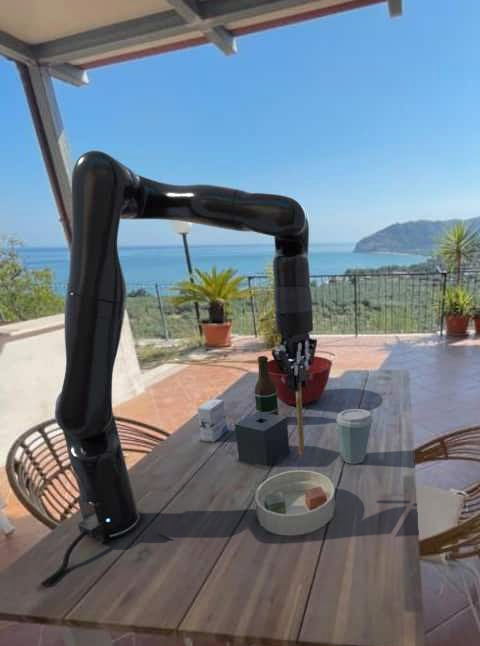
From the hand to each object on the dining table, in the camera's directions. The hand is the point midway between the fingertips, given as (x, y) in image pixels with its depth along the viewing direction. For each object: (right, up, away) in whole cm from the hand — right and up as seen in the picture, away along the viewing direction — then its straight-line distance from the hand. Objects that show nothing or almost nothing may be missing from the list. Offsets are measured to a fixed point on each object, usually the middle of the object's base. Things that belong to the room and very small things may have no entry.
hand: (298, 388), depth 85 cm
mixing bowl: (-12, -2, +78) cm, 79 cm away
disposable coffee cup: (+12, -20, +32) cm, 40 cm away
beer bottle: (-20, -10, +58) cm, 62 cm away
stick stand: (-15, -20, +33) cm, 41 cm away
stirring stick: (0, -15, +6) cm, 16 cm away
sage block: (-6, -29, +7) cm, 30 cm away
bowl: (-2, -29, +8) cm, 30 cm away
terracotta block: (+3, -28, +9) cm, 30 cm away
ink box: (-35, -15, +46) cm, 60 cm away
